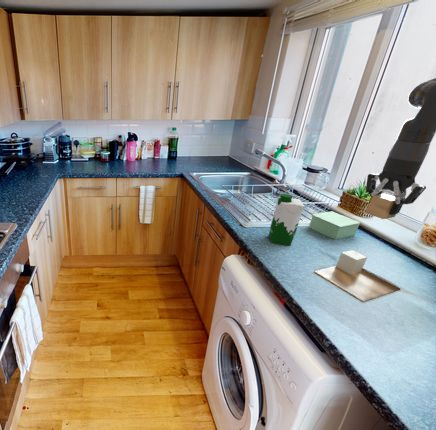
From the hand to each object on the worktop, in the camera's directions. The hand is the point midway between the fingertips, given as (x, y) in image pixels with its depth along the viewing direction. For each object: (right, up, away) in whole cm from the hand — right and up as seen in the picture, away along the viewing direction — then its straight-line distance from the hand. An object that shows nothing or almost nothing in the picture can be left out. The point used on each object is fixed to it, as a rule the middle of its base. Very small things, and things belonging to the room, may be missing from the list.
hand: (381, 210), depth 89 cm
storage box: (+12, -10, +37) cm, 40 cm away
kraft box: (0, -1, +1) cm, 1 cm away
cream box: (0, -21, +13) cm, 24 cm away
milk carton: (-14, -12, +31) cm, 36 cm away
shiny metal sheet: (-2, -24, +7) cm, 25 cm away
